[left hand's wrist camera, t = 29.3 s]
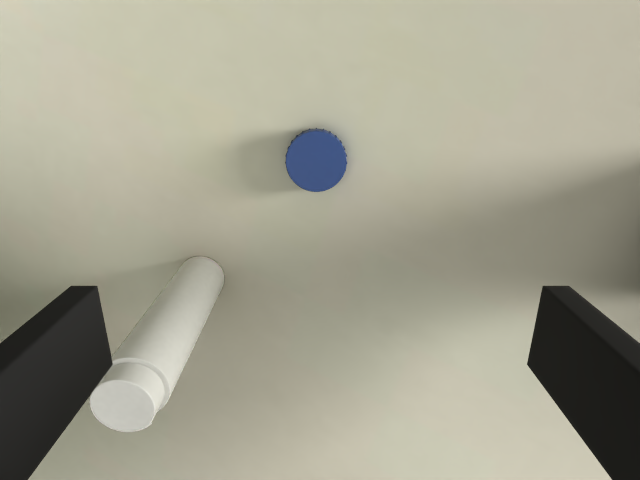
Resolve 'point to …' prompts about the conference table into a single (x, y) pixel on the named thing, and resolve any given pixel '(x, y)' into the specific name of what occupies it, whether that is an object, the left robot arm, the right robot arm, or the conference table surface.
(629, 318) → the conference table surface
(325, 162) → the lid
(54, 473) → the conference table surface
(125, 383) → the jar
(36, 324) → the left robot arm
